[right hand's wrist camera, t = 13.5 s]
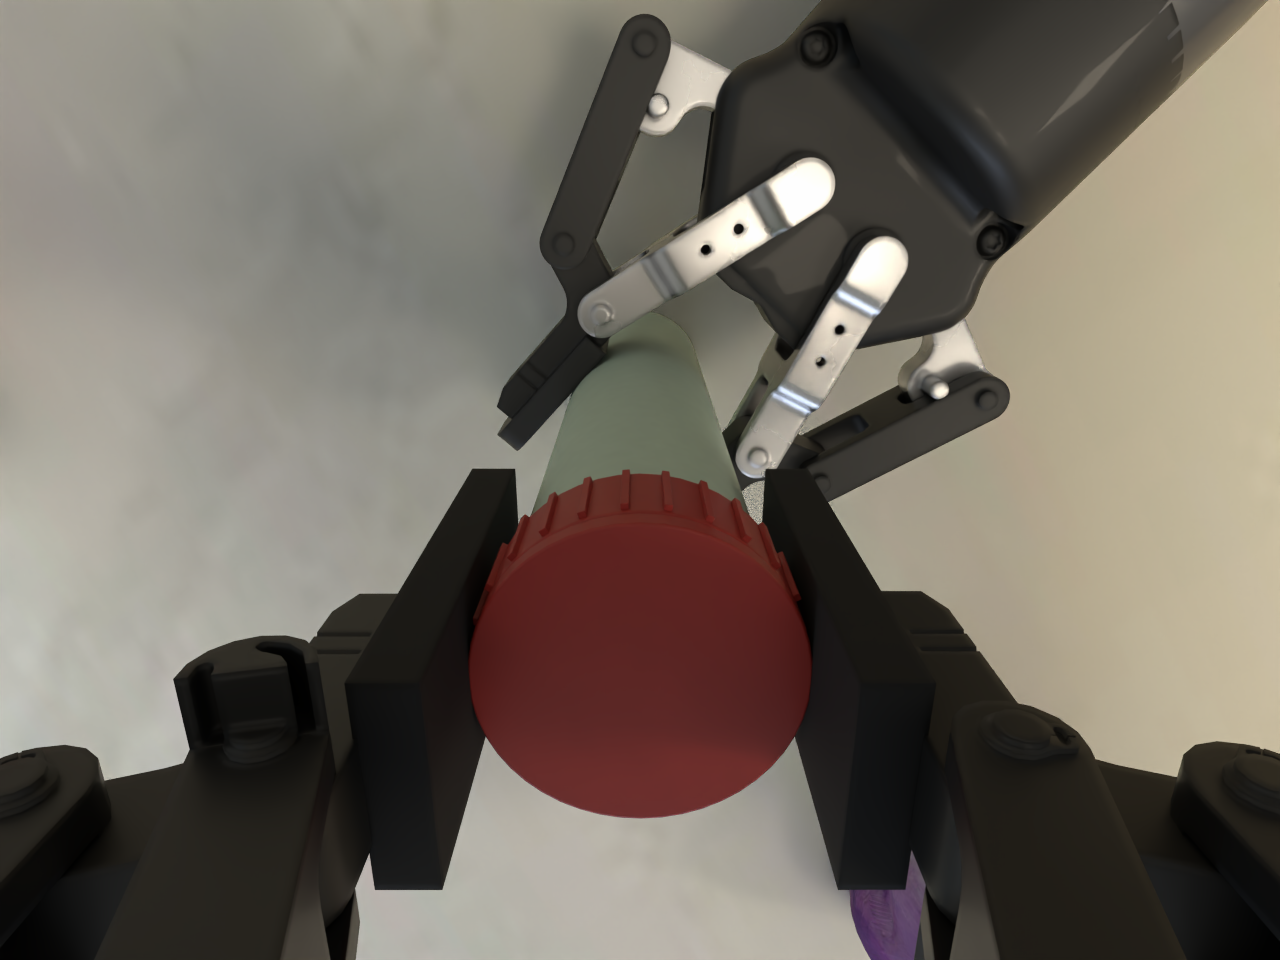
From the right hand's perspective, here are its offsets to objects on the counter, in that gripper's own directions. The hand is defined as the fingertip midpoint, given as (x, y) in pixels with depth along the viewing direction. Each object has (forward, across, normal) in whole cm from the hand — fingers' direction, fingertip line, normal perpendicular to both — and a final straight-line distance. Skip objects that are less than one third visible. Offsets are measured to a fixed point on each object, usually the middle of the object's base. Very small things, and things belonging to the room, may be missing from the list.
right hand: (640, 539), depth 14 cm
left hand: (+8, -2, -2) cm, 9 cm away
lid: (-4, 0, 0) cm, 4 cm away
